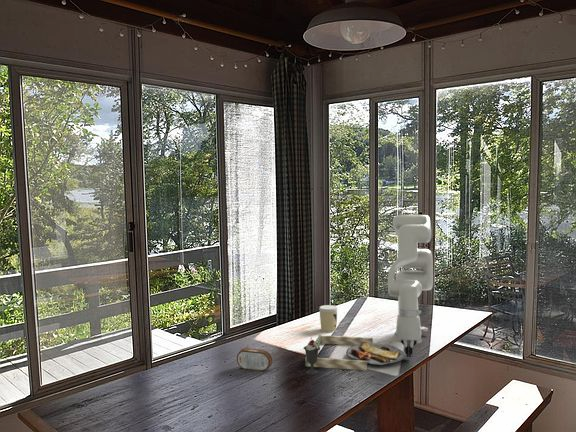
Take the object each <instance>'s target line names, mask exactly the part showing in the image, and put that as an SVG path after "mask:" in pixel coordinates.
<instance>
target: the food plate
mask: <svg viewBox="0 0 576 432" xmlns="http://www.w3.org/2000/svg"><path fill="white" fill-rule="evenodd" d="M345 353H346V356H349V358H351V359H353V360H362V361H367V365H368V364H370V365H379V366H383V365H387V364H395V363H398V362H400V361H403V360H404V359H406V358H407V354H405V350H403V349H401V348H399V347H397V346H394V345H388V344H383V343H373V344H372V343H371V344H368V343H367V342H363V344H358V345H350V347H347V349H346V351H345Z"/></svg>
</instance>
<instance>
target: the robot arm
mask: <svg viewBox="0 0 576 432" xmlns="http://www.w3.org/2000/svg"><path fill="white" fill-rule="evenodd" d="M392 226H393V229H394V232H395V234H396V237H397V241H398V242H397V245H398V247H397V250H398V251H397V253H398V254H397V259H395V260H394V261H393V262H392V264H391V266H390V268H389V270H388V275H387V291H388V294H389V295H390V297H394V298H398V299H397V300H398V303H397V304H398V306H397V307H398V308H397V309H398V314H397V316H396V328H395V329H396V330H395V331H394V333H395V335H396V337H395V342H396V343H399V344H400V343H401V344H402V345H403V346H404V352H405V354H406V358H408V357H409V358H411V357H412V356H411V355H413V348H414V346H416V345H417V344H421V343H422V342H423V341H422V333H428V332H429V328H428V327H426V326H422V325H421V317H420V315H421V314H422V310H419V300H418V298H419V297H420V296H421V294H422V291H431V290H432V289H433V287H434V261H433V259H434V257H433V254H432V251H431V250H430V249H428V248H418V244H419V243H420V244H421V243H422V244H428V243H430V242H431V240H432V221H431V218H430V216H429V215H427V214H400V215H395V216H393V219H392ZM401 268H405V269H422V270H401V271H399V272H397V271H398V270H399V269H401ZM396 272H397V274H396ZM395 274H396V276H395ZM395 277H396V278H395ZM408 341H410V342H409V343H408Z"/></svg>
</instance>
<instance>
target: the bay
mask: <svg viewBox="0 0 576 432" xmlns="http://www.w3.org/2000/svg"><path fill="white" fill-rule="evenodd" d="M314 341H315V342H316V343H317V346H319V347H321V345H322V344H326V345H327V344H329V345H330V344H331V345H346V346H355V345H358V344H363V342H367V343H368V344H371V343H372V344H373V337H365V336H364V337H361V336H347V335H346V336H345V335H342V336H341V335H326V334H325V335H324V334H318V336H317V338H316V339H315V340H314ZM304 361H305V365H304V367H310V368H311V364H310V363H308V362H307V358H306V356H305V357H304ZM314 368H324V369H339V370H357V371H367V370H368V363H367V361H362V360H356V359H344V358H343V359H342V358H327V357H317V362H316V363H315V364H314Z"/></svg>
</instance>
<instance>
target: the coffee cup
mask: <svg viewBox="0 0 576 432" xmlns="http://www.w3.org/2000/svg"><path fill="white" fill-rule="evenodd" d="M318 310H319V318H320V328H321V329H320V330H321V332H323V331H324V332H323V333H333V331H334V332H336V331H337V320H338V307H337V306H336V305H332V304H326V305H325V304H324V305H321V306H319V308H318Z"/></svg>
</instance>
